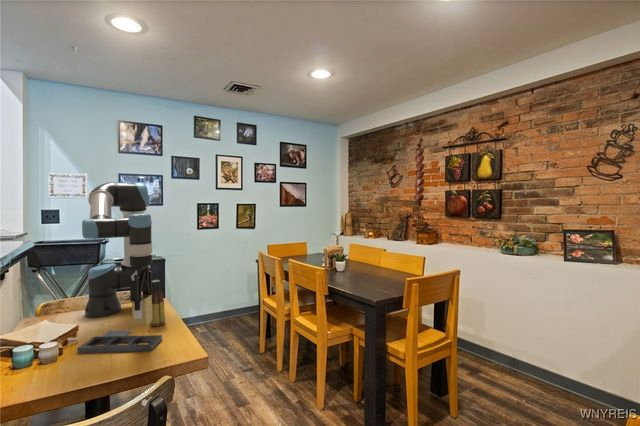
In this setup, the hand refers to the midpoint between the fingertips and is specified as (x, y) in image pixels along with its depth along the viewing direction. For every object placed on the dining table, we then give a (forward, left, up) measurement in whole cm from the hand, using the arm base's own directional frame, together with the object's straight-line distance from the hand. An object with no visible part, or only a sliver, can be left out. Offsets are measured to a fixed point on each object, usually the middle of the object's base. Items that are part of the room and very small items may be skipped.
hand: (142, 315), depth 128 cm
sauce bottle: (-22, -4, -12) cm, 25 cm away
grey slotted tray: (0, -8, -12) cm, 14 cm away
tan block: (0, 0, -3) cm, 3 cm away
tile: (-10, -16, -12) cm, 22 cm away
